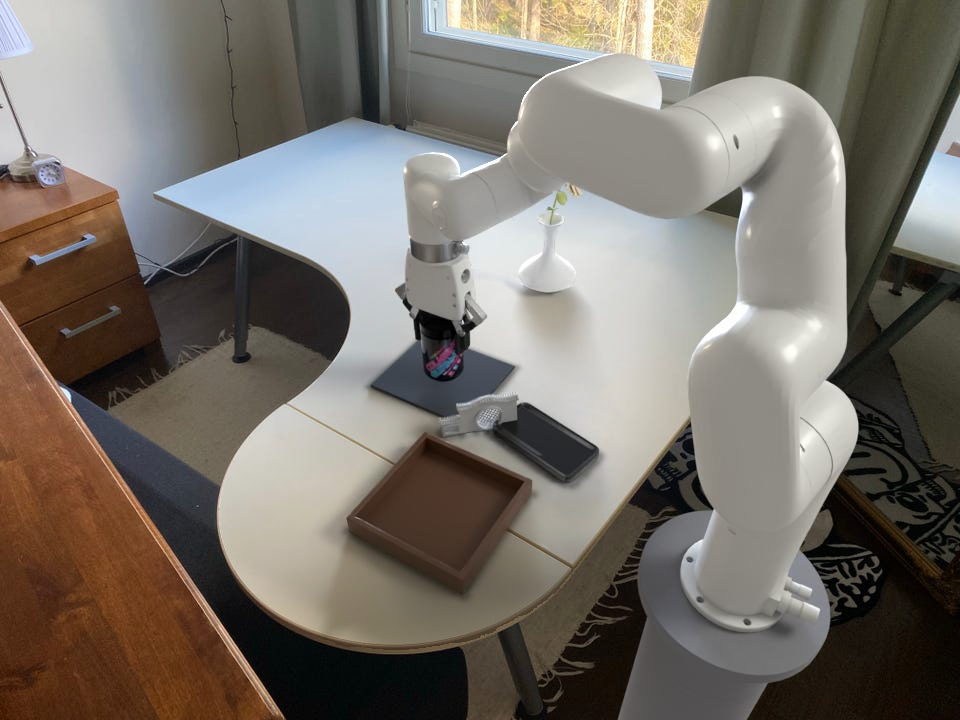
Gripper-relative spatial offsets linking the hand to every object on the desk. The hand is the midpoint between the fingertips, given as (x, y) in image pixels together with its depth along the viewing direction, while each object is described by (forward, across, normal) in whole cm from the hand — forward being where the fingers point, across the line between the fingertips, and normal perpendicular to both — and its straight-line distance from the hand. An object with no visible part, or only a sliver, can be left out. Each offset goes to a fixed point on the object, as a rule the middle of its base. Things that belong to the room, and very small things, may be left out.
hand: (442, 342), depth 105 cm
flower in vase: (+8, -2, -35) cm, 36 cm away
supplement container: (+6, 0, 0) cm, 6 cm away
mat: (+7, 0, 0) cm, 7 cm away
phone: (+7, -21, +5) cm, 23 cm away
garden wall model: (+7, -11, +7) cm, 15 cm away
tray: (+7, -15, +23) cm, 28 cm away
